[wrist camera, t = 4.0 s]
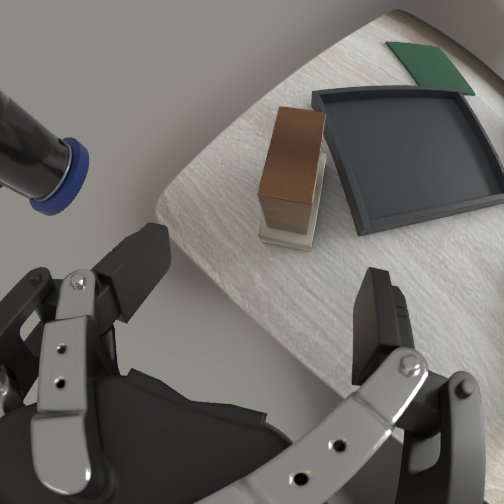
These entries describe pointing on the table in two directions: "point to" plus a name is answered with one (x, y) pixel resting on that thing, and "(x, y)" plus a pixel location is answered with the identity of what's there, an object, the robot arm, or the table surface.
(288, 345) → the table surface
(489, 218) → the table surface
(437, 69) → the mat
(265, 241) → the eraser
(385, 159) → the tray
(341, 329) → the table surface
